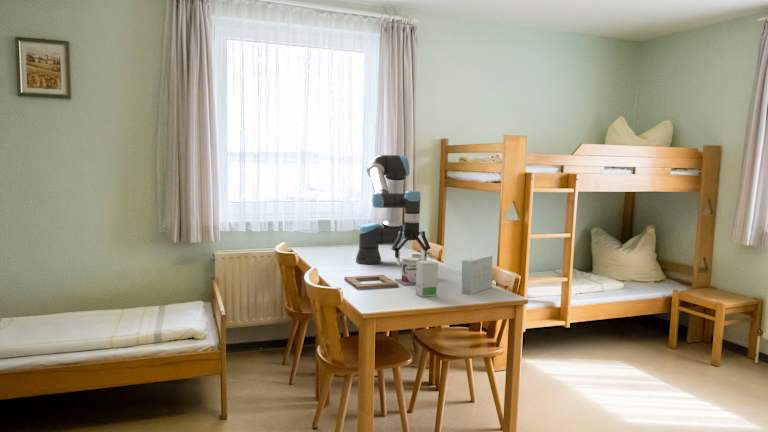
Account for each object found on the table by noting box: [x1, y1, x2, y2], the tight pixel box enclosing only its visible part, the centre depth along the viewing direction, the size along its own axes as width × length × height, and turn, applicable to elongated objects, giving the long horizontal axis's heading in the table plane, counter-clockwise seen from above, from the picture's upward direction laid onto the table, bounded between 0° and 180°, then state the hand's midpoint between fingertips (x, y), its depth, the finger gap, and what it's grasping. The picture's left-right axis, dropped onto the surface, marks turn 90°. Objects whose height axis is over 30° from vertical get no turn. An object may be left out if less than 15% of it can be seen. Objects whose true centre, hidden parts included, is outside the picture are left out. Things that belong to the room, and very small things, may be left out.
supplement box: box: [411, 251, 428, 261], centre depth 285 cm, size 7×7×13 cm
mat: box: [394, 278, 416, 287], centre depth 272 cm, size 12×12×1 cm
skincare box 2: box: [461, 254, 493, 296], centre depth 259 cm, size 21×6×16 cm, turn 141°
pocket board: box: [344, 274, 399, 291], centre depth 267 cm, size 21×21×2 cm
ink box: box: [400, 256, 421, 283], centre depth 271 cm, size 9×5×12 cm, turn 69°
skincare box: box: [415, 260, 439, 298], centre depth 247 cm, size 8×7×16 cm
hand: (410, 263), depth 271 cm, fingers open, 13 cm apart
